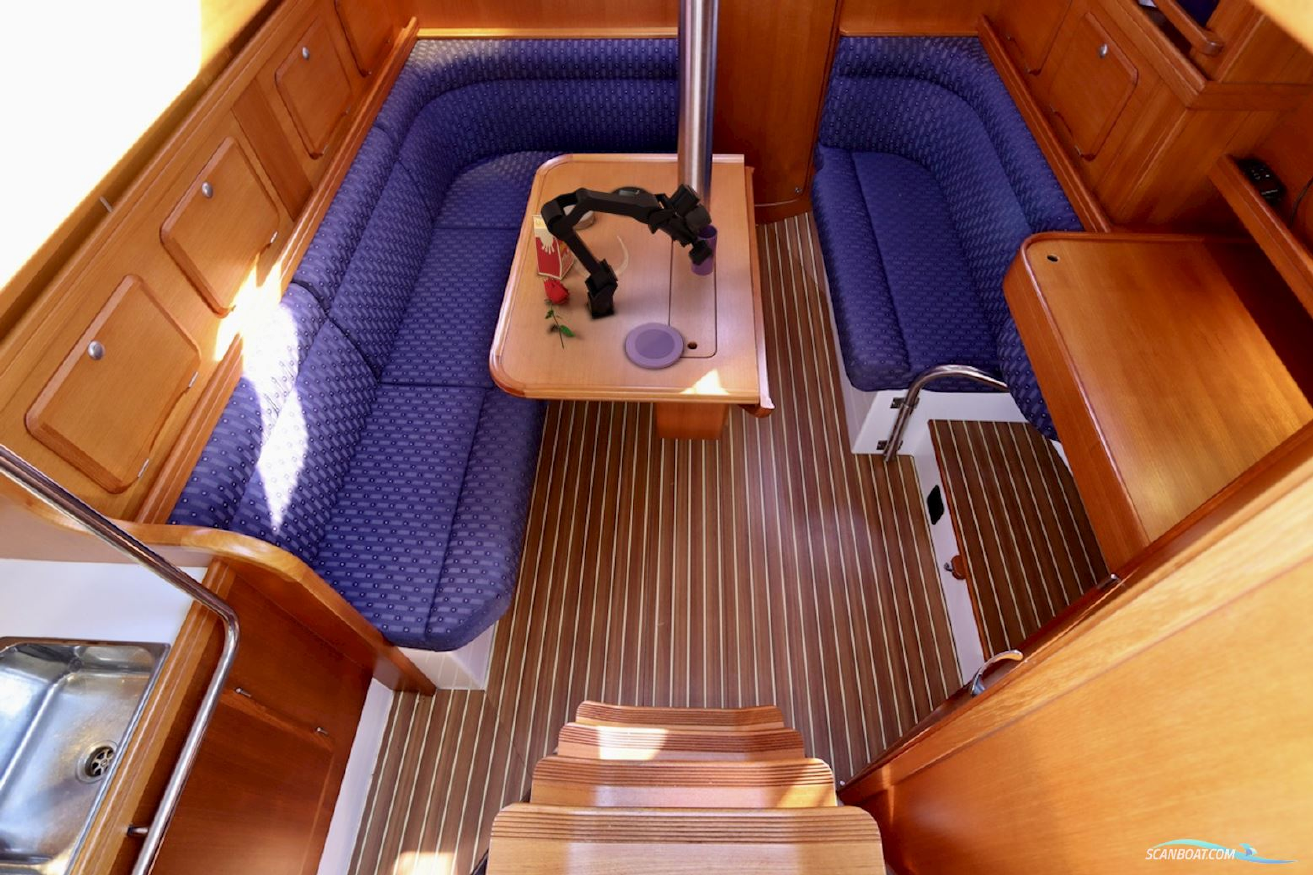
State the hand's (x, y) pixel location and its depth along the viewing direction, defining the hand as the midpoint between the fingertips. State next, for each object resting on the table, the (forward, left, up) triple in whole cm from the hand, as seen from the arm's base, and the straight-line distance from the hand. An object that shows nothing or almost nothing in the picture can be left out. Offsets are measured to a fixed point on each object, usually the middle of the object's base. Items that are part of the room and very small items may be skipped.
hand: (708, 248), depth 186 cm
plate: (-23, -20, -12) cm, 33 cm away
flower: (-46, -1, -13) cm, 47 cm away
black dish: (-9, +44, -13) cm, 47 cm away
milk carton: (-41, +21, -13) cm, 48 cm away
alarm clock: (-28, +43, -13) cm, 53 cm away
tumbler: (-1, 0, -7) cm, 7 cm away
